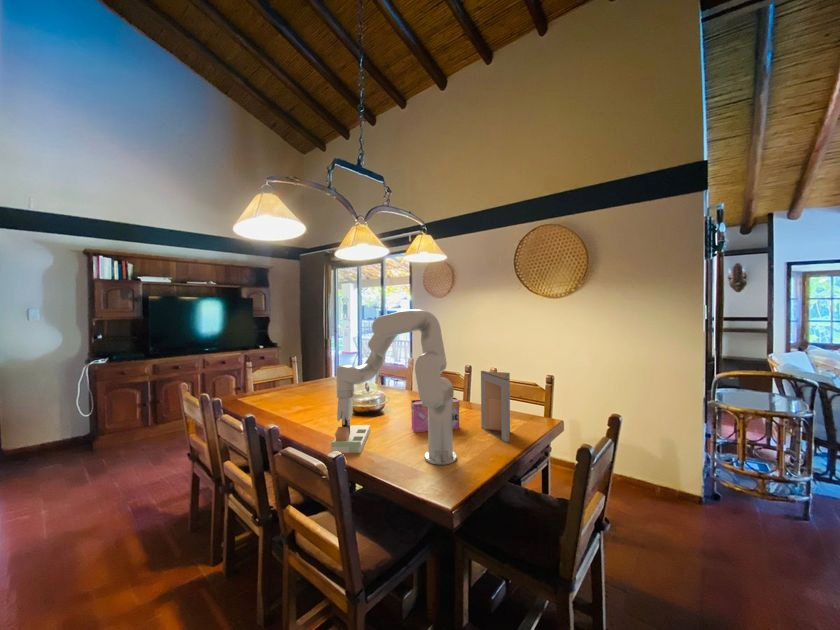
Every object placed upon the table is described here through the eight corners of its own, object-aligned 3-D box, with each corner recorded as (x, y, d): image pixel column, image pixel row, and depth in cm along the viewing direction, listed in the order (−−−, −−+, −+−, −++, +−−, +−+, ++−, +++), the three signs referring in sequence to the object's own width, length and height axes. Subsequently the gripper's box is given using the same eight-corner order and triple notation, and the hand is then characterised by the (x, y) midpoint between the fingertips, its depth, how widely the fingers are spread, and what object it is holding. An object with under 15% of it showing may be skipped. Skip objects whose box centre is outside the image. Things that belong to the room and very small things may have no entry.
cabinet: (481, 427, 170) (480, 370, 170) (498, 425, 174) (497, 369, 173) (506, 443, 151) (505, 378, 150) (524, 439, 154) (524, 377, 154)
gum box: (457, 423, 177) (457, 397, 177) (462, 429, 169) (462, 401, 169) (411, 427, 173) (410, 400, 172) (413, 432, 165) (413, 404, 165)
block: (346, 442, 147) (345, 434, 146) (336, 442, 148) (334, 433, 146) (349, 435, 151) (348, 426, 150) (339, 435, 152) (338, 426, 150)
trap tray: (360, 452, 143) (360, 441, 143) (331, 453, 143) (331, 442, 143) (370, 430, 169) (370, 421, 169) (345, 430, 169) (345, 421, 169)
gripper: (341, 389, 160) (341, 428, 160) (332, 397, 145) (333, 441, 145) (357, 389, 160) (357, 428, 160) (350, 397, 145) (350, 441, 145)
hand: (346, 434), depth 153 cm, fingers closed
